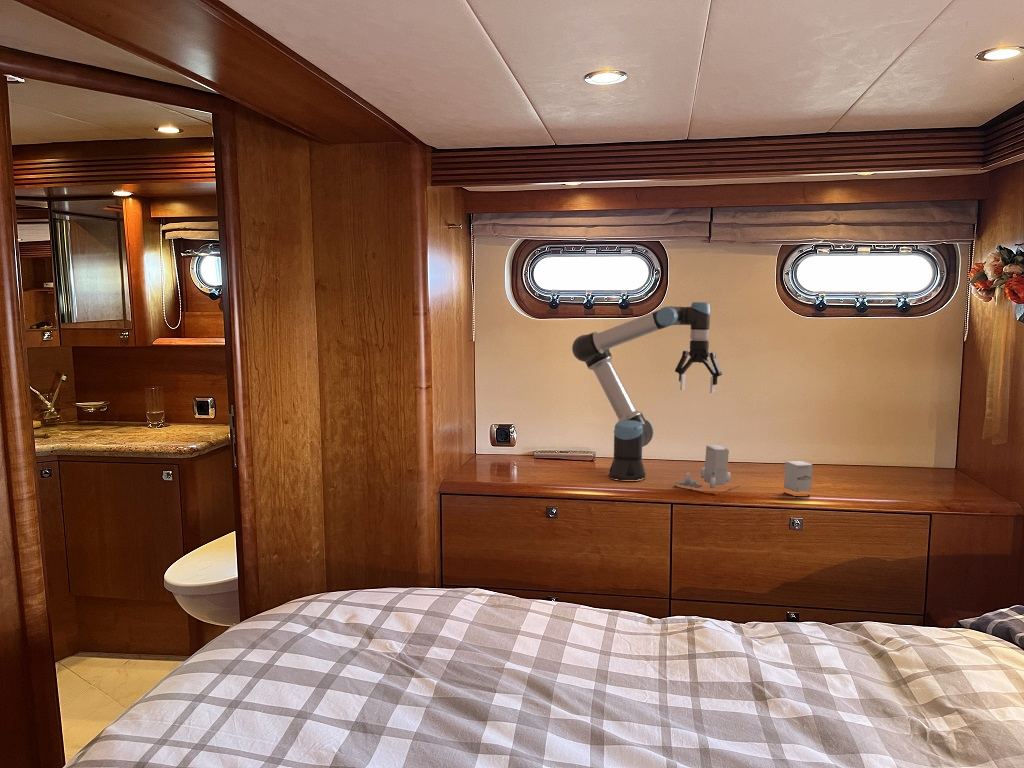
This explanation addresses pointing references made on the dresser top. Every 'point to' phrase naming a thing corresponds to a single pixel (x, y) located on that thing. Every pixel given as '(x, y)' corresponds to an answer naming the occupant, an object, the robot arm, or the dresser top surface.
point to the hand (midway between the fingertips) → (697, 391)
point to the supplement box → (798, 476)
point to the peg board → (692, 483)
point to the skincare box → (716, 464)
